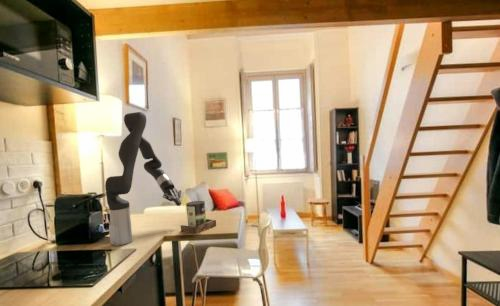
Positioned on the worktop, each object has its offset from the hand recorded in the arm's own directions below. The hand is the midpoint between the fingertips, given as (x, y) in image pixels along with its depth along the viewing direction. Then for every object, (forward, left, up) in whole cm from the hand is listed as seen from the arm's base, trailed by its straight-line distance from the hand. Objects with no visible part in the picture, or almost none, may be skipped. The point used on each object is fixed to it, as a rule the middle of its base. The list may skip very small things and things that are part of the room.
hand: (179, 204), depth 164 cm
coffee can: (0, -13, -12) cm, 18 cm away
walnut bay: (0, -15, -12) cm, 19 cm away
